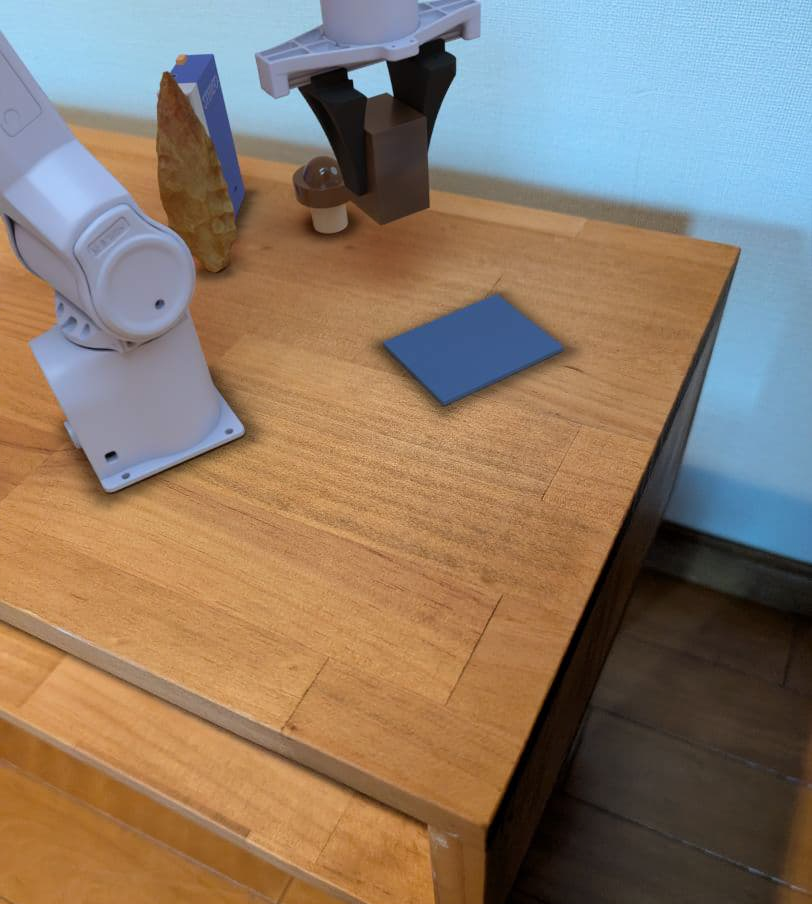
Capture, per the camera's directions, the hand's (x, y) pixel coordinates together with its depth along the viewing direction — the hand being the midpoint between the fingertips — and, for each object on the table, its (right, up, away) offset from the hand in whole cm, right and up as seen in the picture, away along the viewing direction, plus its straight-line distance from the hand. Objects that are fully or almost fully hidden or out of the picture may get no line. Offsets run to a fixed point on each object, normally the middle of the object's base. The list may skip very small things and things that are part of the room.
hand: (384, 179), depth 53 cm
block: (0, -1, +1) cm, 2 cm away
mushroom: (-5, +3, +14) cm, 15 cm away
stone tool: (-14, -3, +11) cm, 18 cm away
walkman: (-15, +4, +16) cm, 22 cm away
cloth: (+6, -11, +2) cm, 13 cm away
